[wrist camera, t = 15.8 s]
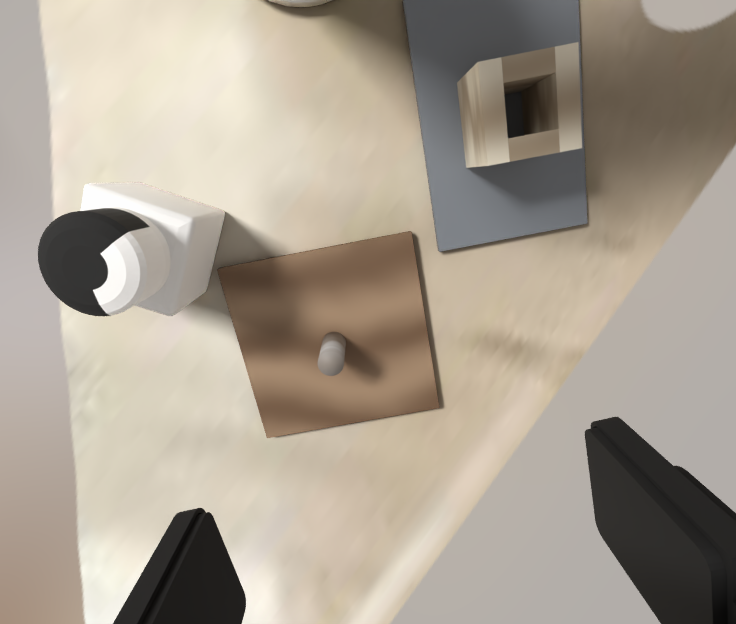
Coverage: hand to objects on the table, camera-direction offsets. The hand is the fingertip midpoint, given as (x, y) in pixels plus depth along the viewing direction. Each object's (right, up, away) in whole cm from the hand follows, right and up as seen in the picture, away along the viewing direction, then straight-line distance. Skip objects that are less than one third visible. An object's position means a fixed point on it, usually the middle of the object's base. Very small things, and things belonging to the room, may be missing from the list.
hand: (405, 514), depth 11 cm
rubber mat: (+9, +20, +23) cm, 31 cm away
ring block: (+9, +19, +22) cm, 31 cm away
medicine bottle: (-17, +11, +25) cm, 32 cm away
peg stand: (-4, +3, +28) cm, 28 cm away
